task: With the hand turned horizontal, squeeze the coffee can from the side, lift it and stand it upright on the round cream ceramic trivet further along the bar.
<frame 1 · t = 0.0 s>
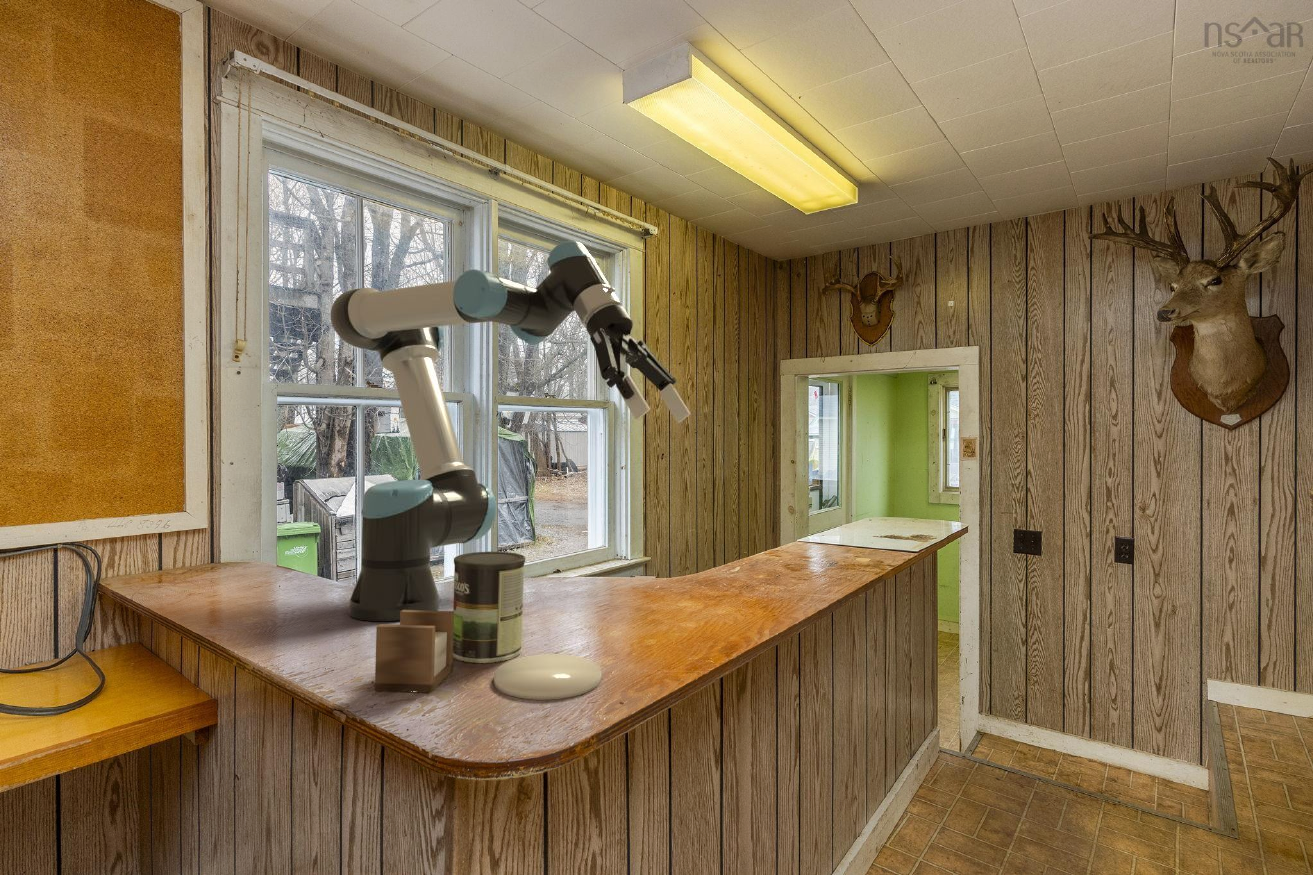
hand: (664, 416, 106), 36 cm above the table, tool tilted 35°, fingers open, 13 cm apart
napkin caddy: (415, 680, 84), on the table
trivet: (548, 678, 86), on the table
coffee can: (487, 653, 96), on the table
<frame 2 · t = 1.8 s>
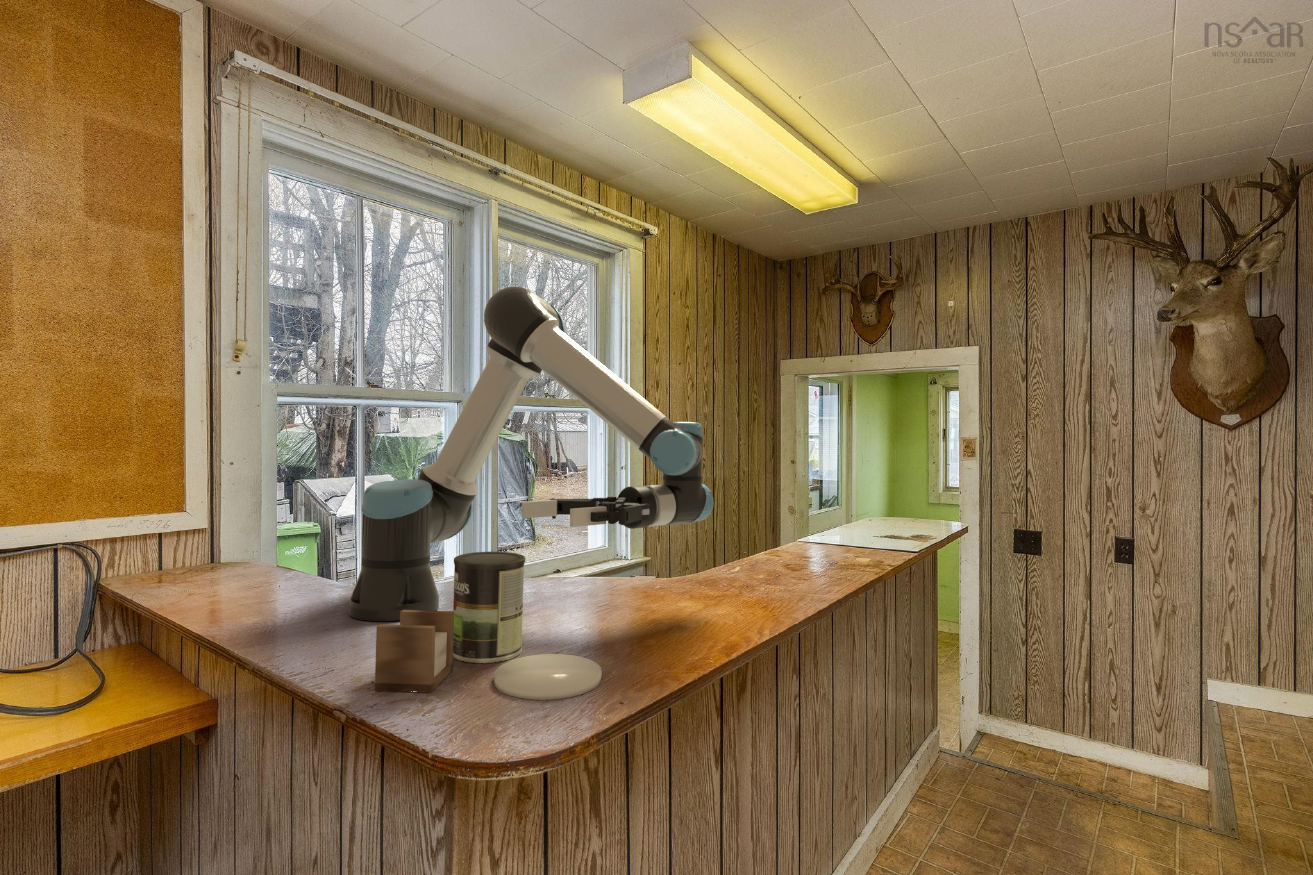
hand: (545, 513, 103), 20 cm above the table, tool horizontal, fingers open, 13 cm apart
nothing on the table moved.
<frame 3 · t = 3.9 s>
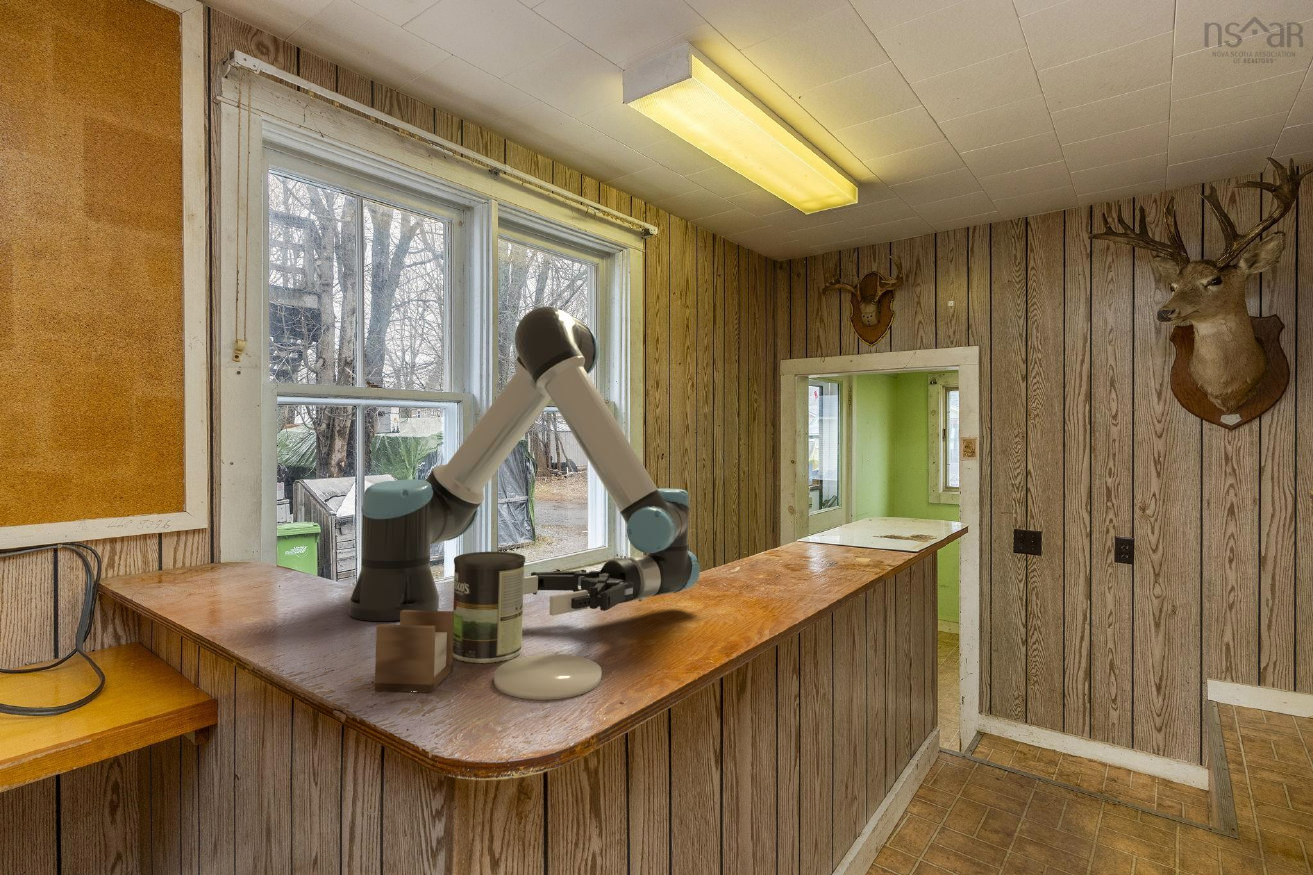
hand: (525, 597, 100), 7 cm above the table, tool horizontal, fingers open, 13 cm apart
nothing on the table moved.
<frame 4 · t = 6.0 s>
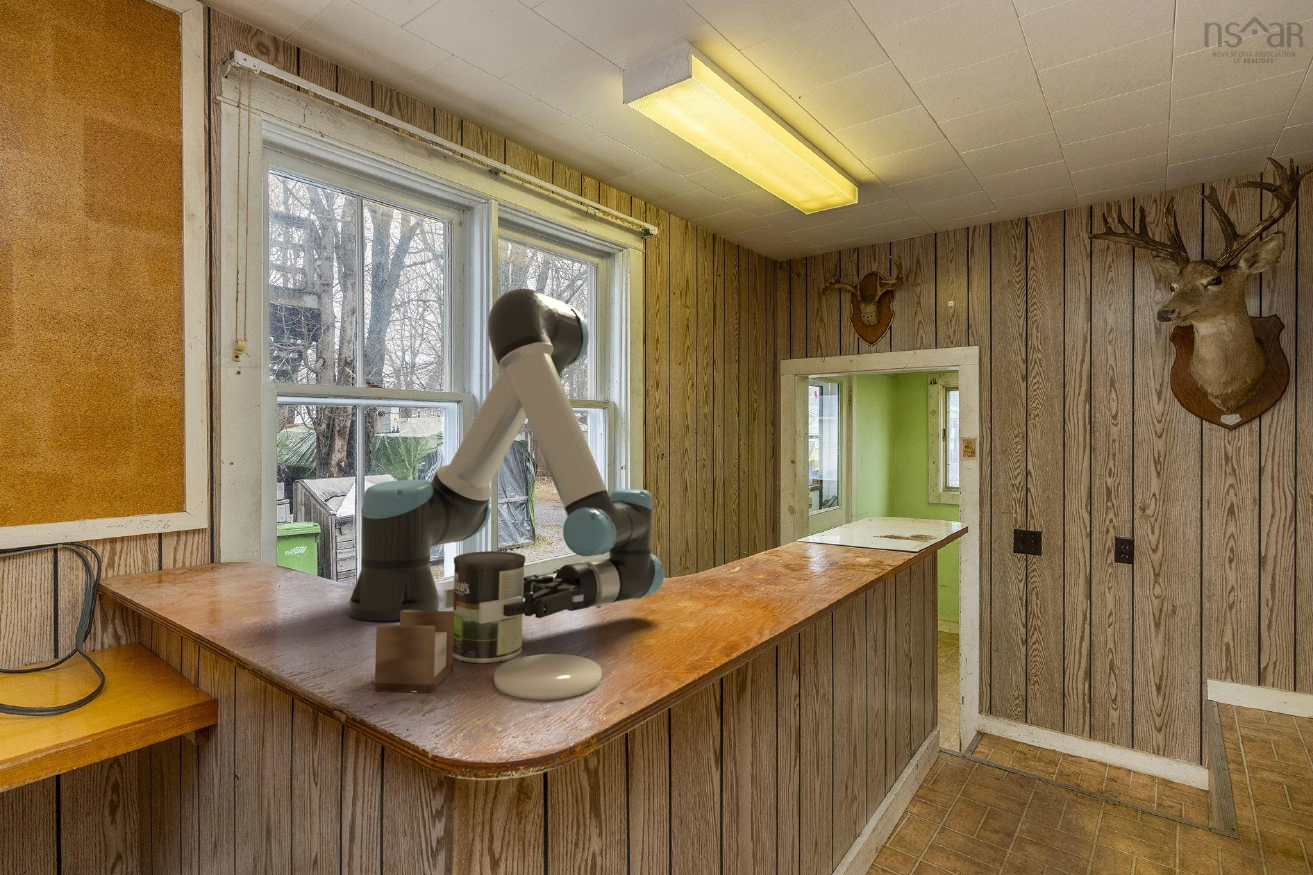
hand: (462, 605, 93), 8 cm above the table, tool horizontal, fingers closed on coffee can, 10 cm apart
coffee can: (487, 653, 96), on the table, touching gripper
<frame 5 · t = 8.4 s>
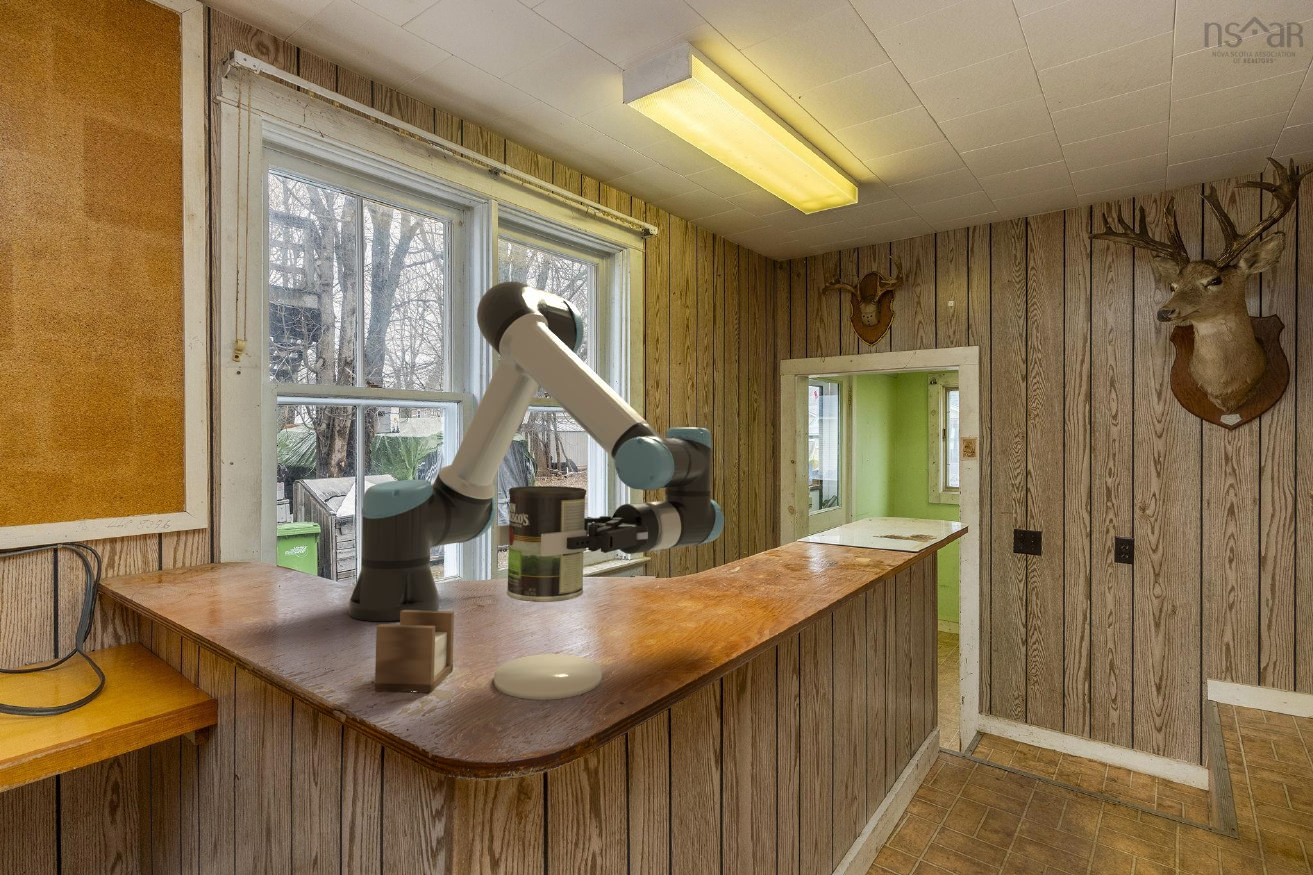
hand: (519, 540, 84), 19 cm above the table, tool horizontal, fingers closed on coffee can, 10 cm apart
coffee can: (545, 594, 87), point 11 cm above the table, touching gripper
when the fingers open (10 cm above the table, at t = 10.9 s): coffee can drops 2 cm, resting on trivet.
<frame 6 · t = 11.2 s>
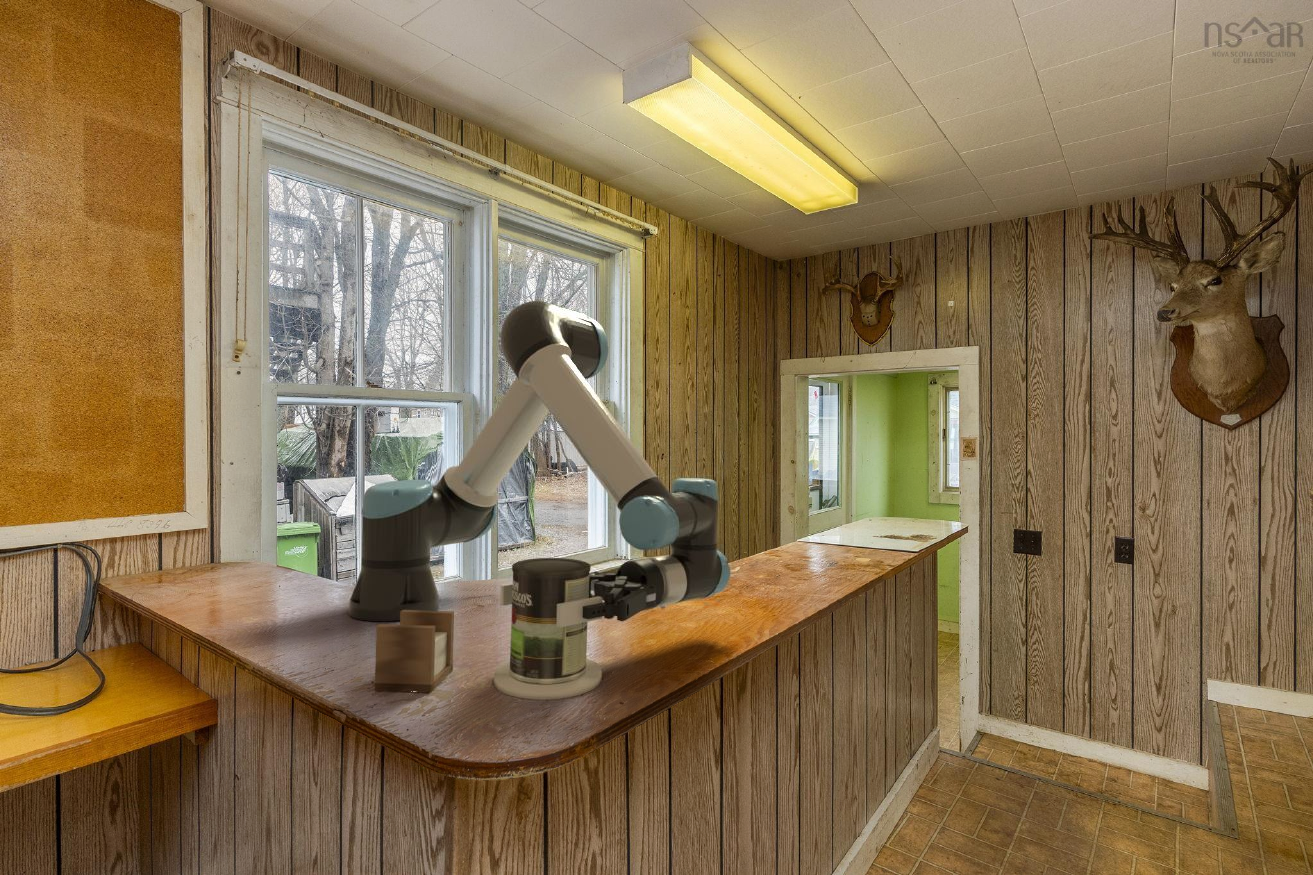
hand: (528, 604, 84), 10 cm above the table, tool horizontal, fingers open, 13 cm apart
coffee can: (548, 672, 86), point 1 cm above the table, touching trivet
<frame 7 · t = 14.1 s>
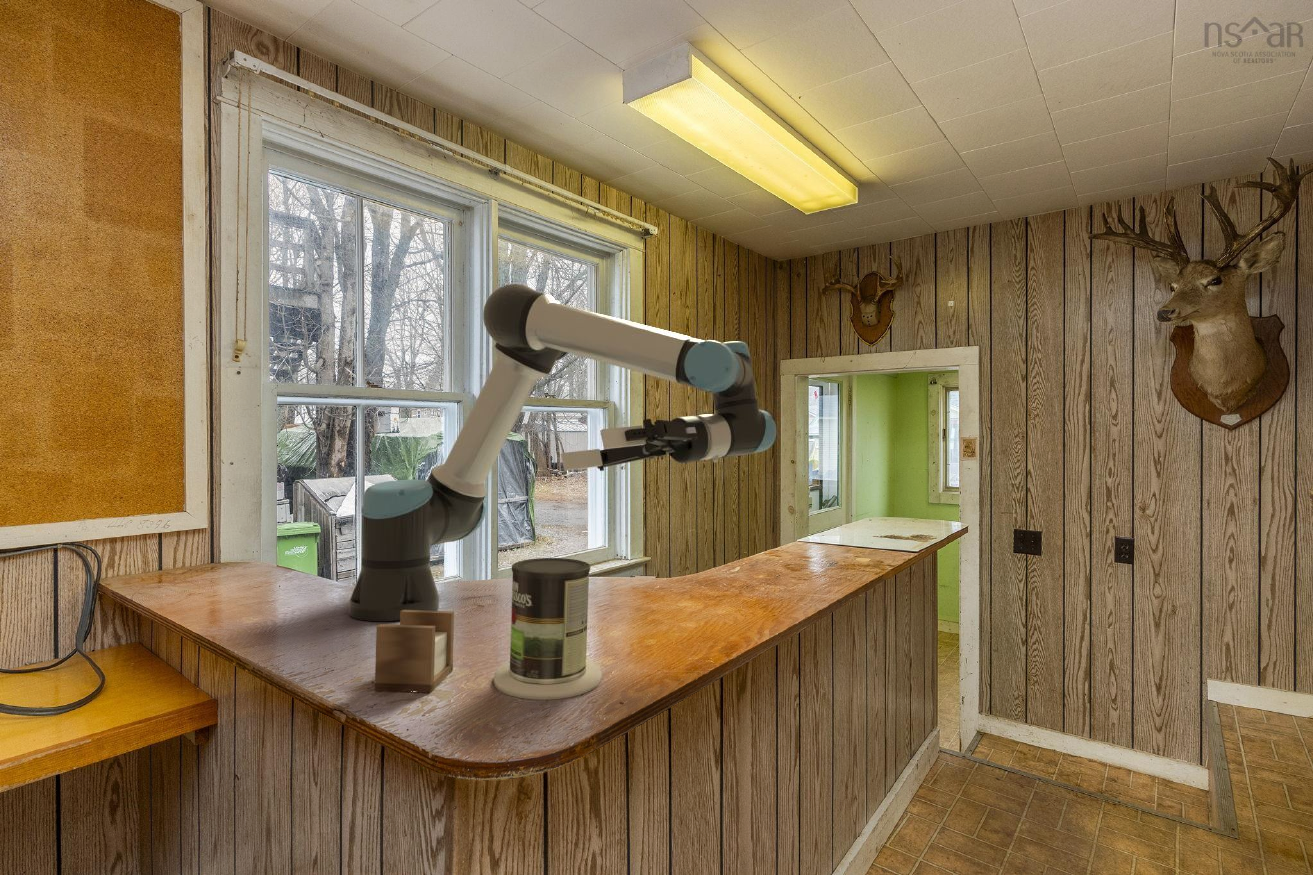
hand: (581, 451, 95), 30 cm above the table, tool horizontal, fingers open, 13 cm apart
nothing on the table moved.
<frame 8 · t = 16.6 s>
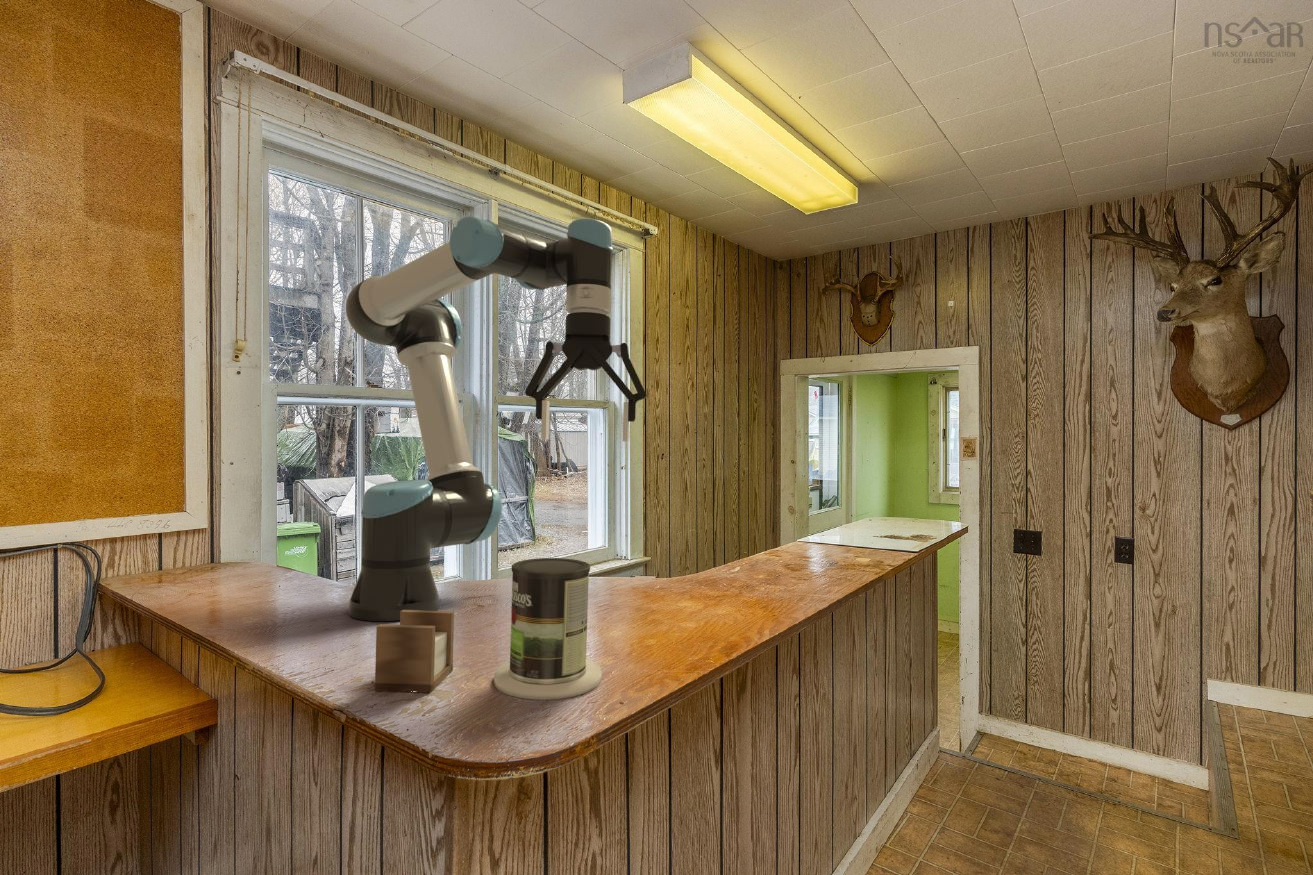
hand: (585, 440, 109), 32 cm above the table, tool pointing down, fingers open, 13 cm apart
nothing on the table moved.
at the end: coffee can 0.2 cm from the trivet (horizontally); coffee can tilted 0°; the gripper is holding nothing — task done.
